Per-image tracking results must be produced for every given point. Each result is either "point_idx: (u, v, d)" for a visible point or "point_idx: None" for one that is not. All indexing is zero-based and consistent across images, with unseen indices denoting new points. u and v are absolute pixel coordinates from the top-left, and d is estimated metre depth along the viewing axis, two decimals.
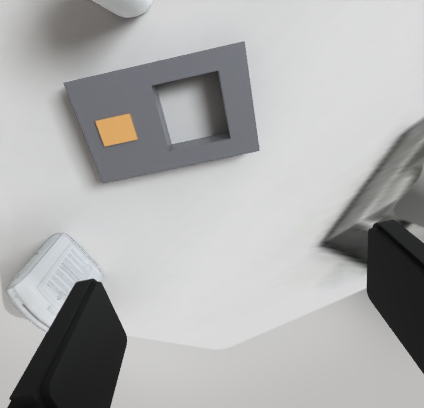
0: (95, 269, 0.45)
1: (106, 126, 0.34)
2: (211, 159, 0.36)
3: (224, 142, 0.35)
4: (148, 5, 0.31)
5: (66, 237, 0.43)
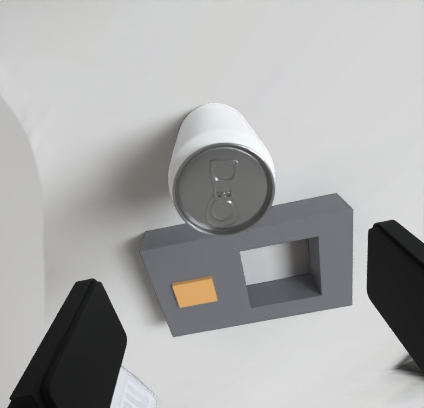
0: (150, 398, 0.42)
1: (184, 290, 0.29)
2: (297, 314, 0.32)
3: (314, 298, 0.31)
4: None
5: (121, 370, 0.39)
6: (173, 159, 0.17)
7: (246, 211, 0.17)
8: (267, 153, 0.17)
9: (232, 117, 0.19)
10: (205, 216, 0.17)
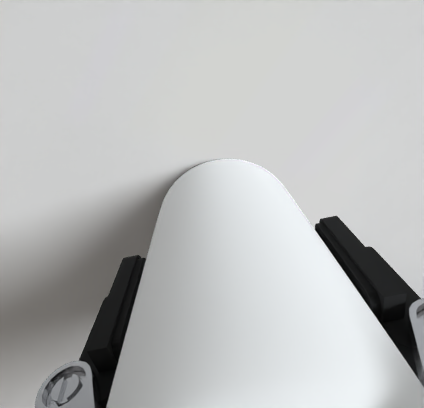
0: None
1: None
2: None
3: None
4: None
5: None
6: None
7: None
8: None
9: (286, 234, 0.07)
10: None
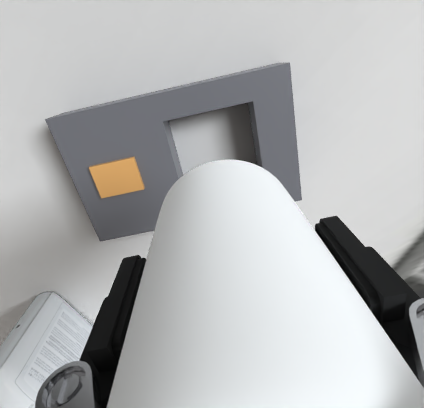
0: None
1: (103, 174, 0.26)
2: None
3: None
4: None
5: (56, 297, 0.35)
6: None
7: None
8: None
9: (286, 236, 0.07)
10: None
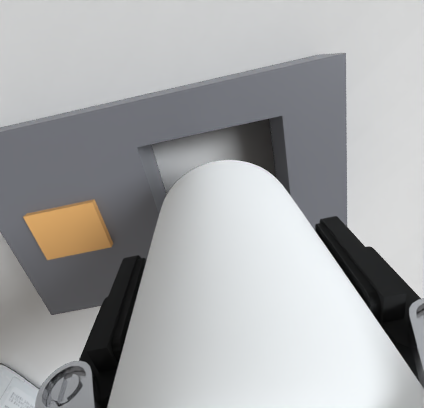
0: None
1: (47, 226, 0.17)
2: None
3: None
4: None
5: (4, 372, 0.26)
6: None
7: None
8: None
9: (286, 237, 0.07)
10: None
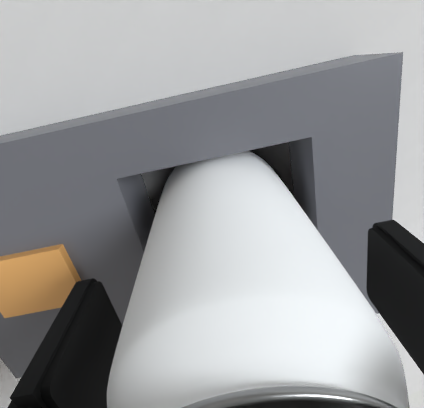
0: None
1: (1, 278, 0.13)
2: None
3: None
4: None
5: None
6: (116, 366, 0.06)
7: None
8: (394, 349, 0.06)
9: (269, 202, 0.09)
10: None
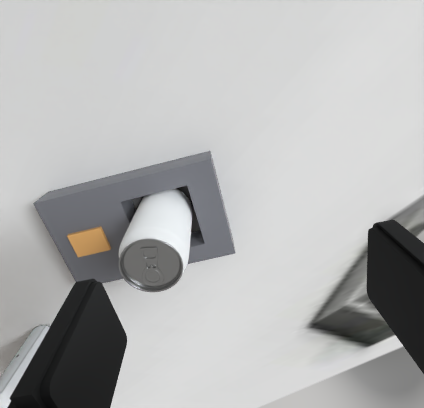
0: None
1: (78, 240, 0.34)
2: None
3: (198, 247, 0.35)
4: None
5: None
6: (120, 245, 0.26)
7: (168, 275, 0.26)
8: (179, 239, 0.26)
9: (164, 208, 0.29)
10: (142, 279, 0.27)
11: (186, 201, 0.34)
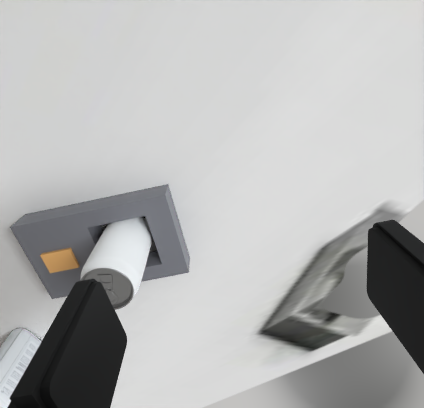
0: None
1: (50, 258, 0.38)
2: (146, 279, 0.41)
3: (156, 266, 0.40)
4: None
5: (26, 332, 0.48)
6: (82, 270, 0.31)
7: (121, 297, 0.32)
8: (131, 267, 0.31)
9: (122, 237, 0.34)
10: None
11: (146, 227, 0.39)
